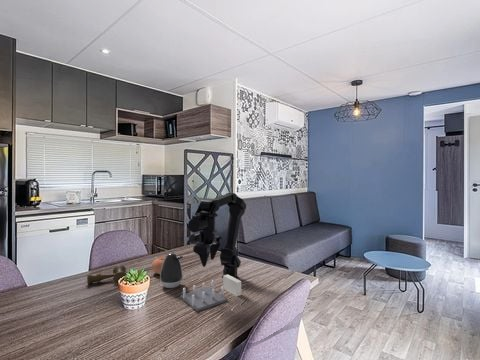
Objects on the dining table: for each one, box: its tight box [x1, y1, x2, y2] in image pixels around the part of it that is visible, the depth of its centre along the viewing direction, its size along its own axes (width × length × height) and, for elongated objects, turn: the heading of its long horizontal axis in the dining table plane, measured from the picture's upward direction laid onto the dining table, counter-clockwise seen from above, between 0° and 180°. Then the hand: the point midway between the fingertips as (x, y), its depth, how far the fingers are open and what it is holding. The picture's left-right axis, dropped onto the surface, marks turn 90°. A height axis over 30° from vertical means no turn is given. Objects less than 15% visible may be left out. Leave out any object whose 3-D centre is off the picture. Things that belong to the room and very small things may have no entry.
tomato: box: [151, 256, 166, 275], centre depth 138 cm, size 11×11×8 cm
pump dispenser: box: [159, 252, 184, 289], centre depth 122 cm, size 10×10×15 cm
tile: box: [222, 274, 242, 297], centre depth 118 cm, size 2×10×6 cm, turn 39°
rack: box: [180, 279, 228, 312], centre depth 110 cm, size 15×14×5 cm
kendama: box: [86, 264, 128, 285], centre depth 127 cm, size 6×10×20 cm
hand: (208, 262), depth 117 cm, fingers open, 9 cm apart
